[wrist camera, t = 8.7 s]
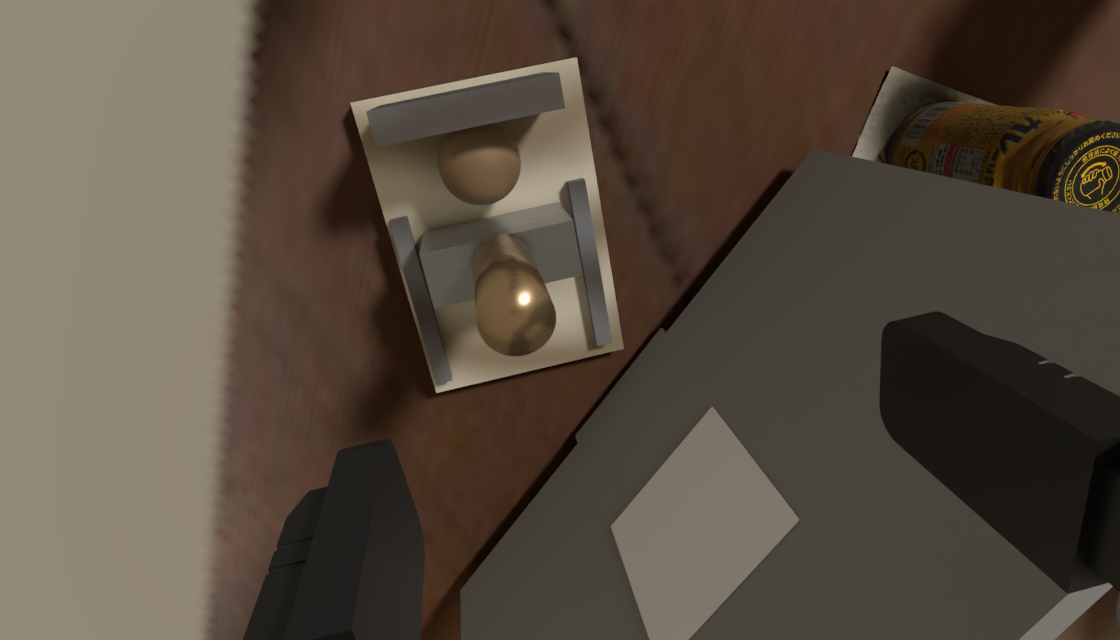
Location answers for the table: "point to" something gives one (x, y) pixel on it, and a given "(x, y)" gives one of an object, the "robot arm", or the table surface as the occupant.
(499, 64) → the table surface
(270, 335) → the table surface
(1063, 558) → the robot arm
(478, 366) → the peg and ball tray
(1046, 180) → the condiment
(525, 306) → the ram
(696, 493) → the laptop
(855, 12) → the table surface
